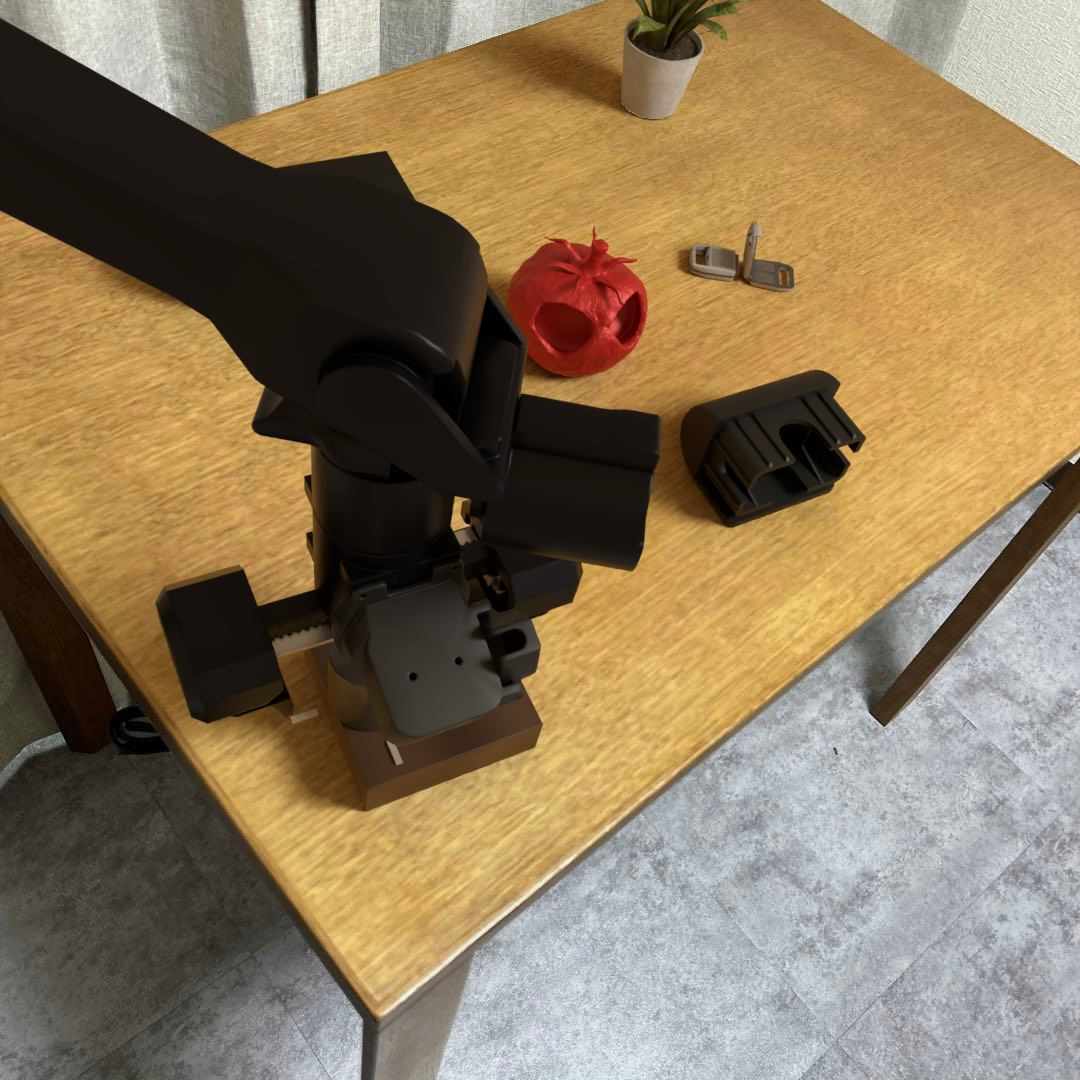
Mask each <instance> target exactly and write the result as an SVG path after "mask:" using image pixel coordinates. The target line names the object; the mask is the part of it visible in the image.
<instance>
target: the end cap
mask: <svg viewBox="0 0 1080 1080" xmlns="http://www.w3.org/2000/svg"><path fill="white" fill-rule="evenodd" d="M841 384H842V383H841V381H839V379H837V378H836V376H834V375H833V374H831V373H830V372H828V371H825V370H822V369H809V370H807V371H803V372H799V373H797V374H793V375H790V376H787V377H784V378H781V379H777V380H774V381H770V382H767V383H765V384H760V385H757V386H754V387H751V388H748V389H745V390H741V391H738V392H735V393H731V394H728V395H724V396H722V397H717V398H715V399H711V400H708V401H706V402H701V403H699V404H695V405H693V406H692V407H689V409H688V410H687V411H686V412H685V413H684V416H683V417H682V420H681V423H680V430H679V443H680V450H681V454H682V458H683V460H684V463H685V467H686V468H687V470H688V472H689V474H690V476H691V477H692V479H693V480H694V481H695V484H696V486H697V488H699V490H700V491H701V493H702V494H703V496H704V497H705V499H706V500H707V502H708V503H709V504H710V506H711V508H713V510H714V512H715V513H716V514H717V516H718V517H719V518H720V520H721V521H722V523H723V524H724V525H725V526H727V527H729V528H736V527H739V526H741V525H744V524H747V523H750V522H752V521H756V520H758V519H761V518H763V517H766V516H769V515H772V514H775V513H778V512H780V511H783V510H785V509H789V508H791V507H794V506H797V505H800V504H802V503H805V502H809V501H811V500H814V499H816V498H819V497H822V496H825V495H827V494H830V493H831V492H832V490H833V489H834V487H835V485H836V484H835V483H837V482H838V481H840V480H841V479H842V478H844V476H845V475H846V474H847V472H848V470H849V468H850V467H851V465H852V463H851V462H850V461H849V459H848V458H847V456H846V455H845V454H844V453H843V451H842V450H841V449H840V448H842V447H846V446H847V447H848V449H850V451H851V452H852V453H853V454H855V453H859V452H860V450H861V448H862V447H863V445H864V443H865V441H866V440H867V436H866V435H865V434H864V433H863V432H862V430H861V429H860V428H859V427H858V426H857V425H856V423H855V422H854V421H853V419H852V418H851V417H850V416H849V415H848V413H847V412H846V411H845V410H844V408H843V407H842V406H841V405H840V403H838V401H837V400H836V399H835V396H836V395H837V392H838V391H839V390H840V389H839V388H840V387H841V386H842V385H841Z"/></svg>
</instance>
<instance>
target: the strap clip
mask: <svg viewBox="0 0 1080 1080" xmlns="http://www.w3.org/2000/svg"><path fill="white" fill-rule="evenodd" d="M745 237H746V238H745V243H744V249H743V255H742V267H743V269H742V270H743V271H742V273H743V279H744V280H745V281H746V282H749V285H750V286H753V287H756V288H762V289H766V290H770V291H774V292H790V291H792V290H794V289H795V286H796V285H795V272H794V271H795V270H794V267H793V266H792V265H789V264H786V263H784V262H780V261H773V260H768V259H760V258H759V259H758V258H755V257H756V249H757V244H758V238H760V239H762V226H761V225H760V224H757V221H752V222H751V223H750V225H749V227H748V229H747V232H746V236H745ZM696 255H698V256H701V257H704V264H699V263H697V262H696V261H697V260H696V258H697V257H696ZM688 256H689V259H688V261H689V263H688V265H689V271H690V272H691V273H693V274H694V275H696V276H699V277H701V278H704V279H709V280H717V281H725V282H732V281H734V279H735V280H737V278H738V275H739V273H740V254H737V253H736V250H734V249H730V248H725V247H721V246H716V245H713V244H708V243H706V244H705V243H703V244H701V243H700V244H693V245H692V246H691V248H690V251H689V255H688ZM780 271H785V272H787V274H788V284H781V283H780Z"/></svg>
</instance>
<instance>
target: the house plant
mask: <svg viewBox="0 0 1080 1080" xmlns="http://www.w3.org/2000/svg"><path fill="white" fill-rule="evenodd" d="M634 1H635V2H636V4H637V5H638V6H639V8H640V10H641V12H642V14H640V15H638V17H636V18H633V19H631V20H630V21H629V22H628V23H627V24H626V26H625V27H624V30H623V34H624V35H623V50H622V69H621V70H622V71H621V87H620V88H621V89H620V93H621V94H620V101H621V100H622V102H621V104H622V103H623V104H624V106H625V107H626V108H627V109H628V110H630V111H631V112H634V113H635V114H637V115H639V116H641V117H645V118H653V119H658V118H659V119H660V118H665V117H668V116H670V115H672V114H673V113H674V114H675V113H676V110H677V108H678V106H679V104H680V102H681V100H682V98H683V95H684V94H685V91H686V89H687V87H688V85H689V83H690V81H691V78H692V76H693V75H694V72H695V71H696V69H697V66H698V64H699V62H700V60H701V58H702V55H703V54H704V51H705V42H704V40H703V38H702V36H701V35H702V34H704V33H712V34H714V35H716V36H717V37H718V38H719V39H721V40H722V41H723V43H724V44H725V46H726V48H728V34H727V32H726V29H725V28H724V27H723V26H722V25H721V24H720V23H719V22H716V21H714V20H711V18H716V17H720V16H727V15H732V14H740V15H742V14H743V13H742V12H741V11H740V9H738V8H737V7H736V6H735V4H736V5H737V6H739V5H738V4H739V3H745V2H746V3H750V2H751V3H752V2H755V0H724V1H722V2H715V1H714V0H650V5H651V6H650V9H651V12H650V11H649V8H648V5H647V2H646V0H634ZM708 1H709V2H711V3H713V4H711V5H708V6H706V7H703V6H705V4H707V2H708ZM702 7H703V8H702ZM701 8H702V9H701ZM700 9H701V10H700ZM699 25H701V26H703V27H705V28H707V29H708V30H706V32H700V33H698V31H697V30H695V29H696V28H697V27H698V26H699ZM624 106H623V107H624ZM674 114H673V115H674ZM673 115H672V116H673Z"/></svg>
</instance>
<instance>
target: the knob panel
mask: <svg viewBox="0 0 1080 1080" xmlns="http://www.w3.org/2000/svg"><path fill="white" fill-rule="evenodd" d="M324 626H326V625H324ZM308 631H309V630H308ZM327 647H328V643H327V644H324V645H321V646H318V647H314V648H311V649H308V650H305V651H303V653H304V659H305V661H306V664H307V666H308V669H309V671H310V674H311V677H312V679H313V682H314V684H315V687H316V689H317V691H318V695H319V697H320V699H321V702H322V704H323V707H324V709H325V713H326V714H327V717H328V719H329V722H330V725H331V728H332V730H333V732H334V735H335V737H336V740H337V742H338V746H339V747H340V750H341V752H342V755H343V757H344V760H345V762H346V765H347V768H348V770H349V772H350V776H351V777H352V780H353V783H354V785H355V788H356V790H357V793H358V795H359V798H360V801H361V803H362V806H363V808H364V810H365V812H370V811H372V810H375V809H378V808H380V807H383V806H386V805H388V804H390V803H393V802H396V801H398V800H401V799H403V798H406V797H409V796H411V795H414V794H417V793H420V792H422V791H424V790H427V789H430V788H433V787H435V786H438V785H440V784H444V783H446V782H448V781H451V780H454V779H457V778H459V777H461V776H462V777H463V776H464V775H467V774H469V773H472V772H474V771H477V770H479V769H483V768H485V767H488V766H490V765H491V766H492V765H493V764H496V763H498V762H501V761H503V760H507V759H509V758H511V757H514V756H516V755H519V754H523V753H525V752H527V751H530V750H532V749H535V748H536V746H537V743H538V741H539V737H540V735H541V732H542V729H543V726H544V723H543V721H542V719H541V717H540V715H539V713H538V711H537V708H536V707H535V705H534V703H533V701H532V699H531V697H530V695H529V693H528V691H527V689H526V687H525V685H524V683H523V681H522V680H521V688H522V691H523V698H522V699H520V700H518V701H515V702H512V703H510V704H507V705H504V706H501V707H499V708H496V709H494V710H493V711H492V712H490V713H488V714H486V715H484V716H482V717H480V718H478V719H477V720H475V721H473V722H471V723H468V724H465V725H463V726H460V727H457V728H454V729H451V730H448V731H446V732H443V733H440V734H437V735H435V736H432V737H429V738H426V739H424V740H421V741H419V742H416V743H413V744H410V745H407V746H397V745H394V744H392V743H390V742H388V741H387V740H386V739H385V738H384V737H383V735H382V734H381V731H380V730H377V731H361V730H357V729H354V728H351V727H349V726H347V725H345V724H344V723H342V722H341V721H340V720H339V719H338V718H337V717H336V716H335V714H334V713H333V711H332V709H331V707H330V704H329V701H328V650H327ZM317 716H319V712H318V709H317V708H312V709H310V710H307V711H303V712H301V713H298V714H295V715H292V716H289V718H290V721H291V724H293V725H294V724H297V723H299V722H303V721H306V720H308V719H312V718H314V717H317Z"/></svg>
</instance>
